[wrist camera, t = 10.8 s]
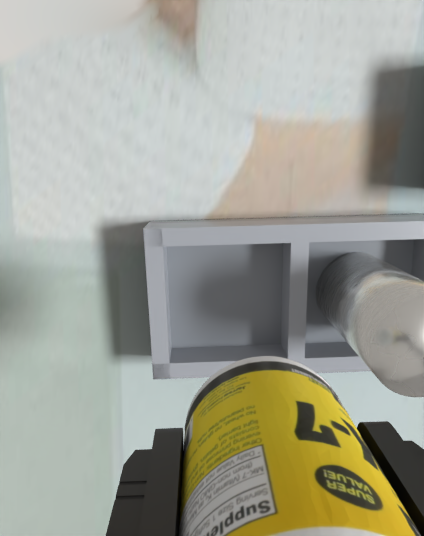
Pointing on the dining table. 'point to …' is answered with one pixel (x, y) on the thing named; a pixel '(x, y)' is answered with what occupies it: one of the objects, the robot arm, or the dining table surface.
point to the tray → (259, 287)
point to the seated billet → (378, 317)
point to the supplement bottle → (280, 459)
